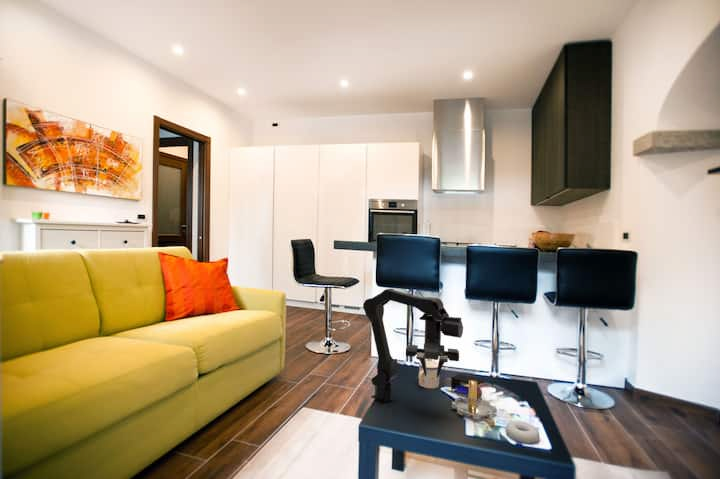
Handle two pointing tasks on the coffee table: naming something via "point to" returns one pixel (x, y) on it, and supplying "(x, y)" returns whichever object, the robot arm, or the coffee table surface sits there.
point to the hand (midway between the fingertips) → (431, 376)
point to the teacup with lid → (429, 375)
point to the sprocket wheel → (474, 404)
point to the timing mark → (490, 421)
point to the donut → (522, 432)
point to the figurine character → (456, 384)
